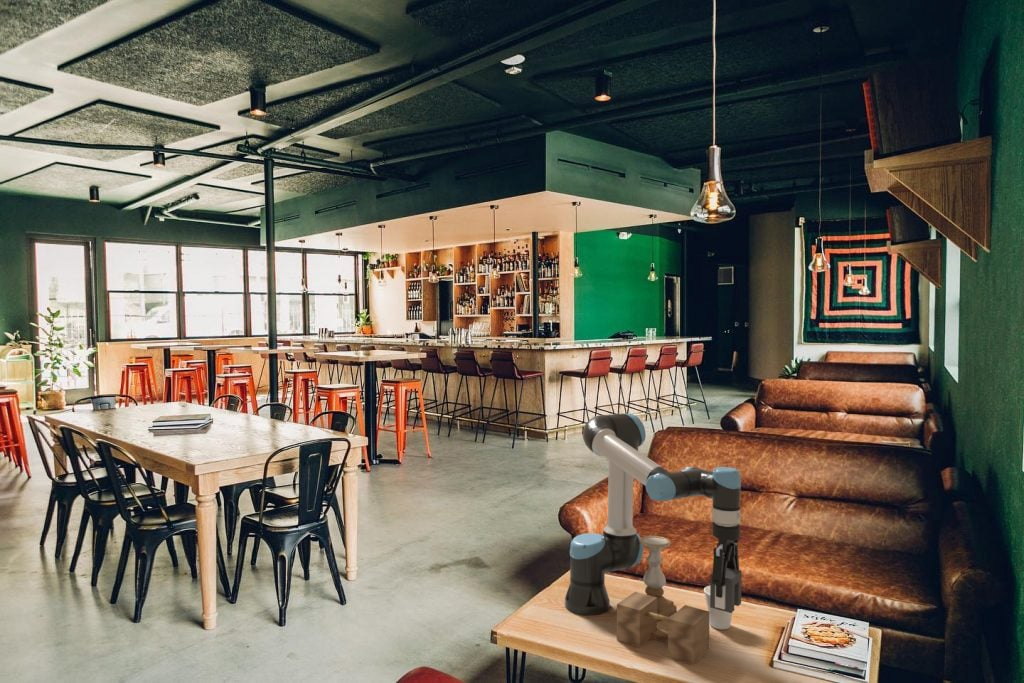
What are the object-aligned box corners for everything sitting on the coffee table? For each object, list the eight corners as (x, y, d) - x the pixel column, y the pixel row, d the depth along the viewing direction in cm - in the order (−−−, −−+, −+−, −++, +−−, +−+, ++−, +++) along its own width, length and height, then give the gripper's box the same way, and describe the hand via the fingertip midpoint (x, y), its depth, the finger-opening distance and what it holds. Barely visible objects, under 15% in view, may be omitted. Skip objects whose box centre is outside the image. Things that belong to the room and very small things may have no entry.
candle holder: (677, 611, 215) (677, 540, 215) (660, 621, 207) (660, 547, 207) (648, 602, 222) (649, 533, 222) (631, 611, 214) (631, 540, 214)
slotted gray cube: (710, 607, 181) (710, 574, 181) (720, 598, 188) (720, 566, 188) (731, 613, 178) (731, 579, 178) (741, 603, 184) (741, 570, 184)
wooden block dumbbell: (616, 640, 194) (617, 603, 194) (635, 626, 204) (635, 591, 203) (693, 665, 179) (693, 625, 179) (709, 648, 189) (709, 611, 189)
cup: (738, 634, 198) (738, 598, 198) (704, 631, 200) (705, 596, 200) (734, 620, 208) (734, 586, 208) (702, 617, 210) (702, 584, 210)
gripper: (726, 534, 172) (726, 618, 172) (751, 517, 189) (750, 594, 189) (699, 529, 177) (698, 611, 177) (725, 512, 193) (725, 588, 193)
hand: (725, 602), depth 183 cm, fingers closed on slotted gray cube, 8 cm apart
